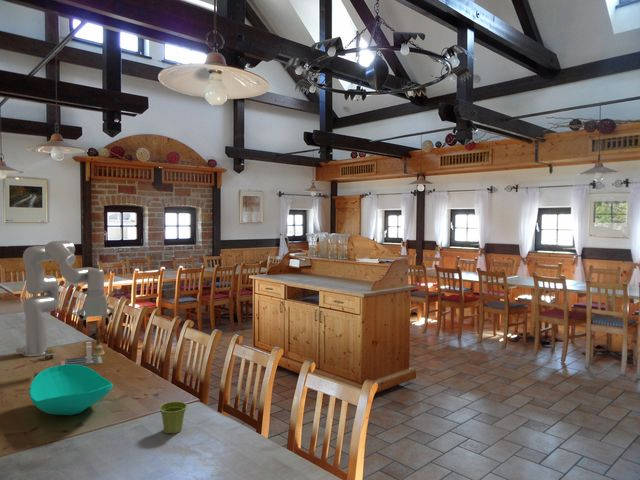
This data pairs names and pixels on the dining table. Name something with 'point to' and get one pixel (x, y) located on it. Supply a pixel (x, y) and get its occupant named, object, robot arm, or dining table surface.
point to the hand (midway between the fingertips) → (95, 326)
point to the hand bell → (98, 344)
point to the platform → (50, 353)
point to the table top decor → (68, 389)
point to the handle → (88, 344)
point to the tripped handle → (89, 354)
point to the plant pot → (173, 416)
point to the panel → (82, 361)
